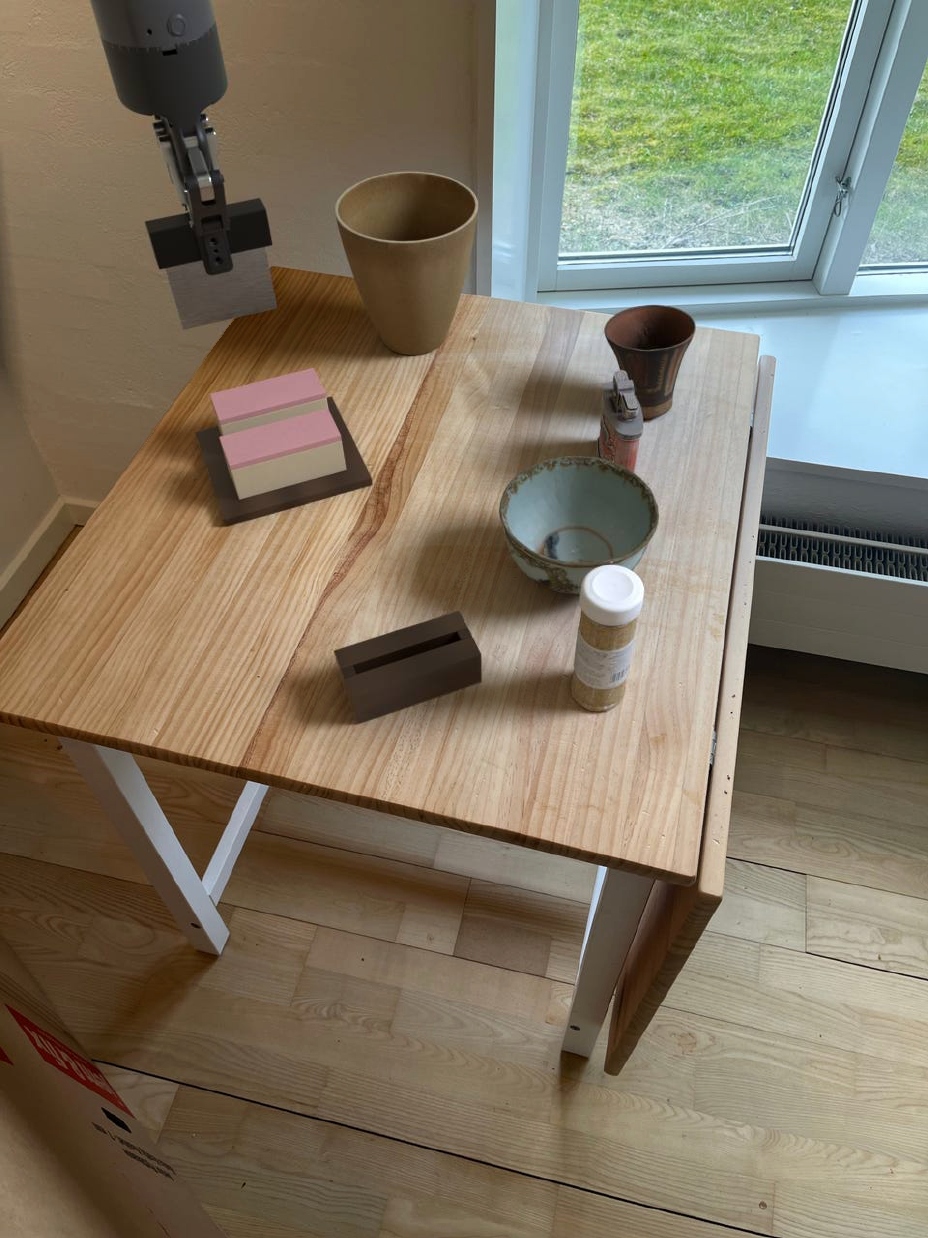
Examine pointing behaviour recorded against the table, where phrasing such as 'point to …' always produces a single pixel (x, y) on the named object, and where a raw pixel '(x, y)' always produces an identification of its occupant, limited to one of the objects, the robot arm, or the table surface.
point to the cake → (283, 453)
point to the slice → (268, 401)
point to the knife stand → (408, 666)
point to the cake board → (285, 496)
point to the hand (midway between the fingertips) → (216, 262)
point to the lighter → (620, 422)
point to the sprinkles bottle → (605, 636)
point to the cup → (651, 351)
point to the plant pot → (409, 253)
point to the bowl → (576, 519)
